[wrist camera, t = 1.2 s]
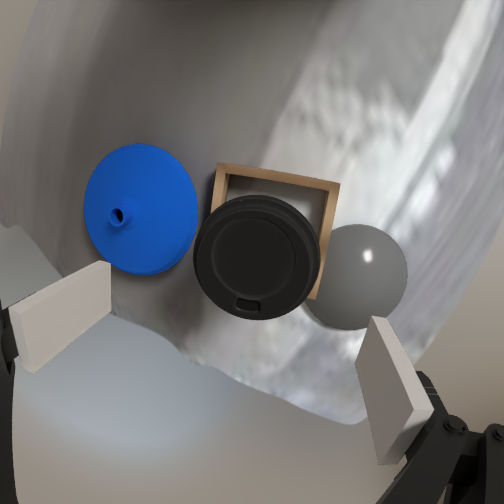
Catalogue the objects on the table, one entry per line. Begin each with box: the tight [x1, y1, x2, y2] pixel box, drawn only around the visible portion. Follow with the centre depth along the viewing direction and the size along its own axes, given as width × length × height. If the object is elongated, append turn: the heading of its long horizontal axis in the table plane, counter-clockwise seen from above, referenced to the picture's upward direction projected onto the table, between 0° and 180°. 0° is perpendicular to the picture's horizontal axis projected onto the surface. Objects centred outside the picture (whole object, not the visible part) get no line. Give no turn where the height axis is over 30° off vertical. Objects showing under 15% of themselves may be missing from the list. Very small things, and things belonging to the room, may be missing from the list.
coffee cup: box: [193, 195, 321, 320], centre depth 28 cm, size 9×9×15 cm
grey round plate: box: [305, 224, 408, 330], centre depth 35 cm, size 13×13×1 cm
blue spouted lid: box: [84, 144, 198, 275], centre depth 33 cm, size 16×16×7 cm
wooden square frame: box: [211, 163, 340, 300], centre depth 34 cm, size 13×13×2 cm
